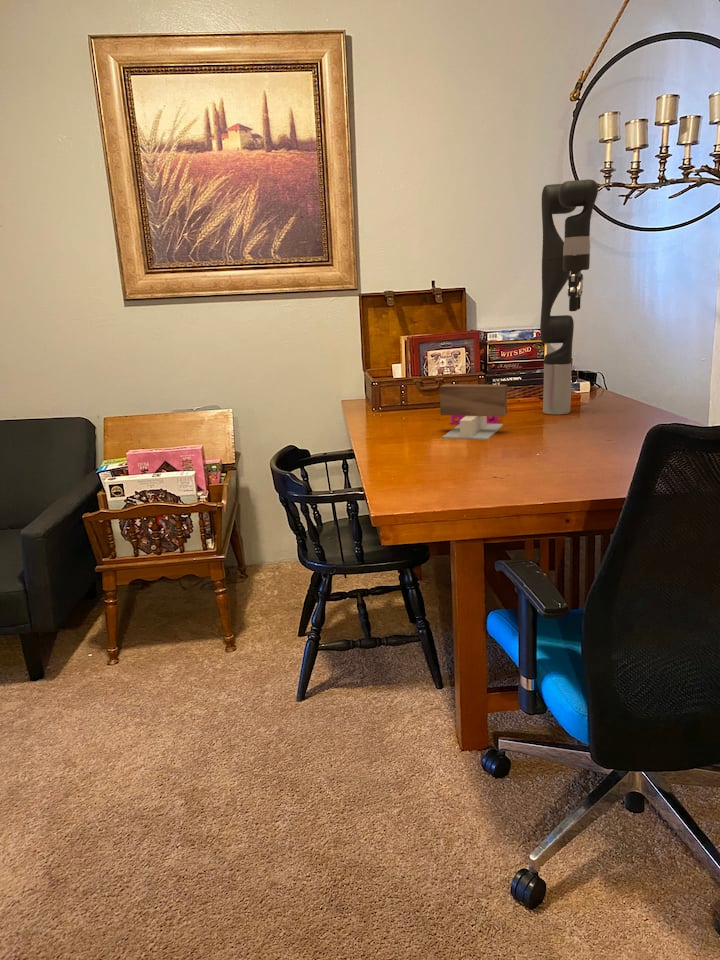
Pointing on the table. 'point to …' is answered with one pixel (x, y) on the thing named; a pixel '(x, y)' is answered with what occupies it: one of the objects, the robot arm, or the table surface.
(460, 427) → the fulcrum
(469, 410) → the beam
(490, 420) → the magenta curved piece
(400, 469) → the table surface
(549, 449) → the table surface
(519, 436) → the table surface
